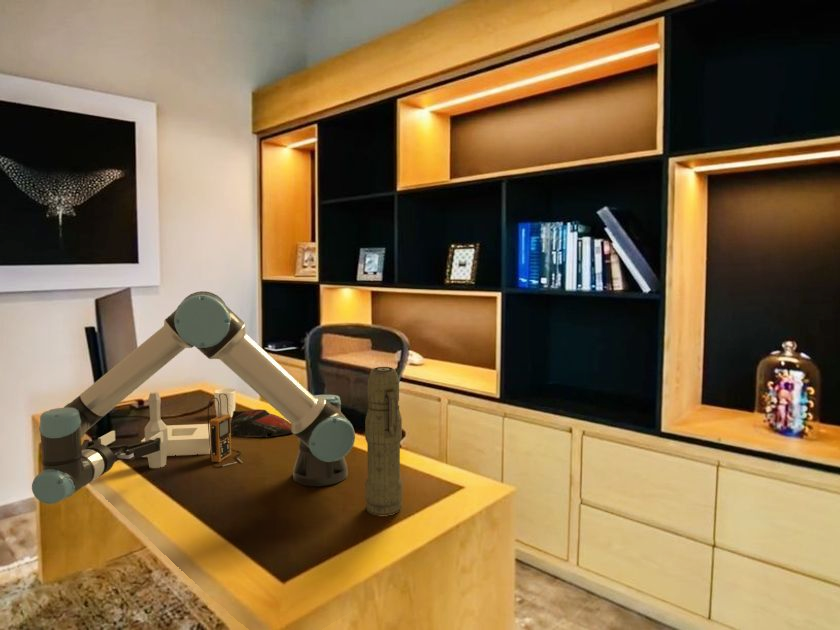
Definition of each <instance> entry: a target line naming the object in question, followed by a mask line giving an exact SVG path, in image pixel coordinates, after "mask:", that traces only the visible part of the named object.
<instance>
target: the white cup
mask: <svg viewBox="0 0 840 630" xmlns="http://www.w3.org/2000/svg"><path fill="white" fill-rule="evenodd" d="M236 392H237V391H236V389H234V388H219V389H216V390H214V391H213V394H214V396H213V397H214V406H215V411H216V412H215V413H216V417H217V416H218V401H219V409H220V399H221V411H222V414H227V415H228V413H229V415H230V417H231V418H232V415H233V411H236V396H237V395H236ZM221 393H224V394H226V395H227V397H226V395H224V394H221ZM219 394H221V395H220V398H219ZM215 398H217V399H218V401H217V399H215ZM227 398H228V411H227Z"/></svg>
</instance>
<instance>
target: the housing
mask: <svg viewBox="0 0 840 630" xmlns="http://www.w3.org/2000/svg"><path fill="white" fill-rule="evenodd" d="M166 426H167V434H168V446H167V457H169V456H170V457H171V456H172V457H173V456H175V455H176V456H193V455H194V456H195V455H197V454H198V455H210V449H211V445H210V448H209V433H210V423H209V432H208V423H199V424H197V423H196V424H173V425H170V424H169V425H168V424H167V425H166ZM140 442H145V437H144V438H142V440H140ZM176 456H175V457H176ZM142 458H148V457H147V455H145V456H142Z"/></svg>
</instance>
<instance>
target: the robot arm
mask: <svg viewBox="0 0 840 630" xmlns="http://www.w3.org/2000/svg"><path fill="white" fill-rule="evenodd" d="M193 347H195V348H196V349H198V350H197V351H199V352H201V354H203V355H204V356H205V357H206V358H208V359H209V360H220V362H222V363H223V364H224V365H225V366H226V367H228V368H229V369H230V371H232V372H233V373H234V374H235V375H236V376H238V377H239V378H240V379H241V380H242V381H244V382H245V384H247V385H248V386H249V387H250V388H252V390H254V391H255V392H256V394H258V395H259V396H260V397H261V398H262V399H263V400H264V401H266V403H268V404H269V405H270V406H271V407H272V408H273V409H275V410H276V411H277V412H278V413H279V414H280V415H281V416H282V417H283V418H284V419H285V420H286V421H288V422H289V424H290V425H291V432H292V433H291V434H293V435H294V436H295V437H296V438H297V439H298V453H297V456H296V459H295V464H294V466H293V468H292V469H293V471H292V478H293V481H294V482H296V484H299V485H301V486H307V487H324V486H331V485H336V484H338V483H341V482H342V481H344V480H345V479H346V478H347V477H348V475H349V474H348V464H347V461H346V459H345V457H346V456H347V455H348V454H350V452H351V451H352V449H353V447H354V445H355V441H356V434H355V429H354V426H353V423H351V421H350V420H349V419H348V418H347V417H346V416H345V414H343V413H342V411H341V409H342V408H341V406H342V402H341V397H340V396H339V395H336V394H315V395H314V394H312V393H311V392H310V391H309V390H307V388H305V386H303V384H301V383H300V382H299V381H298V380H297V379H296V378H295V377H294V376H293V375H291V374H290V372H288V371H287V370H286V369H285V368H284V367H283V366H282V365H281V364H280V363H279V362H278V361H276V360H275V359H274V358H273V357H272V356H271V354H269V353H268V351H266V350H265V349H263V348H262V346H260V345H259V343H257V342H256V341H255V340H254V339H253V338H252V337H250V336H249V335H248V333H247V332H246V323H245V322H244V321H243V320H242V319H241V318H240V317H239V316H238V315H237V314H235V312H234V311H232V310H231V309H230V307H228V306H227V304H226V303H225V301H224V300H223V299H222V298H221V297H220V296H219V295H217V294H215V293H213V292H210V291H203V290H202V291H196V292H193V293H191V294H189V295H187V296H186V297H185V298H184V299H183V300H182V301H181V302H180V304H179V305H178V306H177V308H176V309H175V310H174V311H173V312H172V313H171V314H170V315H169V316H167V317H166V318H165V319H164V321H163V326H162V327H160V329H159V328H158V330H157V331H156V332H154V333H153V334H152V335H151V336H150V337H149V338H147V339H146V340H145V341H143V342H142V343H141V344H140V345H139V346H138V347H137V348H135V349H134V350H132V351H131V352H130V353H129V354H128V355H126V356H125V357H124V358H123V359H122V360H121V361H119V362H118V363H117V364H115V366H113V367H112V368H111V369H110V370H109V371H107V372H106V373H105V374H103V375H102V376H101V377H100V378H99V379H97V380H96V381H95V382H94V383H93V384H91V385H90V386H89V387H88V388H87V389H85V390H84V391H83V392H82V393H80V395H78V396H77V397H75V399H73V400H72V401H71V402H68V403H67V404H66V405H64V406H63V407H57V408H53V409H49V410H45V411H44V412H43V413H41V415H40V416H39V429H38V430H39V434H40V445H41V446H40V447H41V458H42V460H41V466H42V471H41V472H39V473H38V474H37V475H35V477H34V479H33V481H32V483H31V490H32V494H33V495H34V497H35V498H36V500H38V501H39V502H41V503H43V504H47V505H52V504H57V503H60V502H62V501H63V500H65V499H68V498H70V497H71V496H73V495H74V494H75V493H76V492H77V491H79V490H81V489H82V488H83V487H86V486H87V485H88V484H90V483H91V482H94V481H95V480H96V479H98V478H99V477H101V476H103V475H104V474H106V473H107V472H110V470H111V469H112V468H113V466H114V465H115V463H116V462H118V461H121V460H124V459H125V462H126V463H129V462H132V461H134V460H136V459H138V458H141V457H142V456H145V455H148V454H151V453H154V452H157V451H160V443H161V442H163V432H159V433H157V434H156V435H154V436H153V437H151V438H149V439H148V441H145V442H141V441H140V442H135V443H133V444H128V445H127V444H123V443H122V444H119V445H112V446H108V445H110V444H112V443H113V442H115V441H116V431H115V430H111V431H109V432H107V433H106V434H104V435H102V436H100V437H98V436H97V435H94V436H91V440H90V439H84V440H83V441H82V438H83V437H84V436H85V434H86V433H87V432H88V431H89V430H90V429H91V428H92V427H93V426H94V425H95V424H96V423H99V421H100V420H101V419H102V418H104V417H105V416H106V415H107V414H108V413H110V412H111V411H112V410H114V408H115V407H116V406H118V405H119V404H121V402H122V401H124V400H125V399H126V398H127V397H129V396H130V395H131V394H133V393H134V391H136V390H137V389H138V388H140V387H141V386H142V385H143V384H144V383H146V382H147V381H148V380H149V379H150V378H151V377H153V376H154V375H155V374H157V372H159V371H160V370H162V368H163V367H165V366H166V365H167V364H168V363H170V361H172V360H173V359H174V358H175V357H177V356H178V355H179V354H180V353H181V352H183V351H184V350H185V349H192V348H193ZM142 458H143V457H142Z"/></svg>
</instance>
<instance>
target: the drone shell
mask: <svg viewBox="0 0 840 630" xmlns="http://www.w3.org/2000/svg"><path fill="white" fill-rule="evenodd" d="M230 423H231V436H235V435H234V434H237V436H236V437H250V438H251V437H256V438H257V437H258V438H259V437H260V438H268V437H269V438H270V437H272V436H273V437H274V436H281V435H287V434H293V433H292V432H291V423H290V422H289V421H288V420H287V419H286V418H284V417H281V416H280V415H276V414H272V413H270V412H269V411H267V410H266V409H248V410H239V411H238V410H235V411H233V415H232V417H231V420H230ZM270 434H271V435H270Z"/></svg>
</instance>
